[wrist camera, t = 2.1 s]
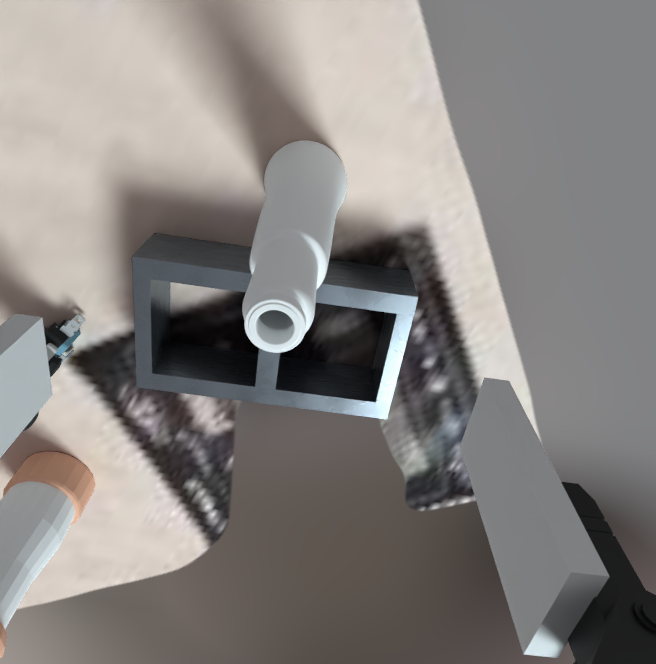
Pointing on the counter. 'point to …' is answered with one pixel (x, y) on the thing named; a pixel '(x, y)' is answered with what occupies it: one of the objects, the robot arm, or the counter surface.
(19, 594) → the pepper shaker
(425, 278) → the counter surface
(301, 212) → the cosmetic bottle
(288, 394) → the square-hole rail
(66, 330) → the push button
